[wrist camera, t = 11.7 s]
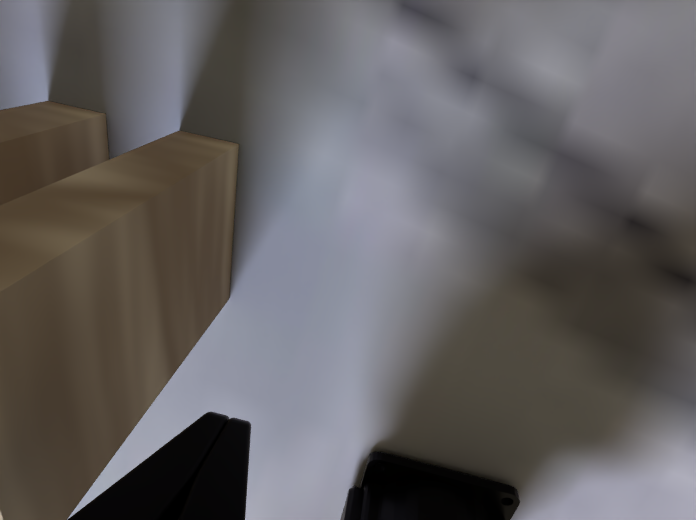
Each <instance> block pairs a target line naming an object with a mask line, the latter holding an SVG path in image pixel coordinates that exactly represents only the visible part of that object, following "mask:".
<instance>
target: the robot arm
mask: <svg viewBox="0 0 696 520" xmlns="http://www.w3.org/2000/svg"><path fill="white" fill-rule="evenodd" d="M250 434H251V424H250V422H248V421H245V420H241V419H237V418H231V419H229V417H228V416H226V415H222V414H219V413H215V412H208V413H206V414H204V415H203V416H202V417H200V418H199V419H198V420H197V421H195V422H194V423H193V424H191V425H190V426H189V427H187V428H186V429H185V430H184V431H182V432H181V433H180V434H178V435H177V436H176V437H174V438H173V439H172V440H171V441H169V442H168V443H167V444H165V445H164V446H163V447H161V448H160V449H159V450H158V451H156V452H155V453H154V454H152V455H151V456H150V457H148V458H147V459H146V460H145V461H143V462H142V463H141V464H139V465H138V466H137V467H135V468H134V469H133V470H132V471H130V472H129V473H128V474H126V475H125V476H124V477H122V478H121V479H120V480H119V481H117V482H116V483H115V484H113V485H112V486H111V487H109V488H108V489H107V490H106V491H104V492H103V493H102V494H100V495H99V496H98V497H96V498H95V499H94V500H93V501H91V502H90V503H89V504H87V505H86V506H85V507H83V508H82V509H81V510H80V511H78V512H77V513H76V514H74V515H73V516H72V517H70V518H69V519H68V520H245V511H246V496H247V480H248V465H249V449H250ZM519 503H520V500H519V495H518V491H517V490H516V489H515V488H514V487H512V486H509V485H506V484H502V483H498V482H494V481H490V480H487V479H483V478H479V477H475V476H471V475H467V474H464V473H460V472H456V471H452V470H448V469H444V468H441V467H437V466H433V465H429V464H425V463H421V462H418V461H414V460H410V459H406V458H402V457H399V456H395V455H391V454H387V453H383V452H373V453H372V454H370V455H369V457H368V460H367V464H366V467H365V470H364V473H363V477H362V480H361V483H360V487H357V486H354V487H352V488H351V489H349V492H348V495H347V499H346V502H345V506H344V509H343V513H342V516H341V520H510V519H511V518H512V516H513V514H514V512H515V511H516V509H517V507H518V506H519Z"/></svg>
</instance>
